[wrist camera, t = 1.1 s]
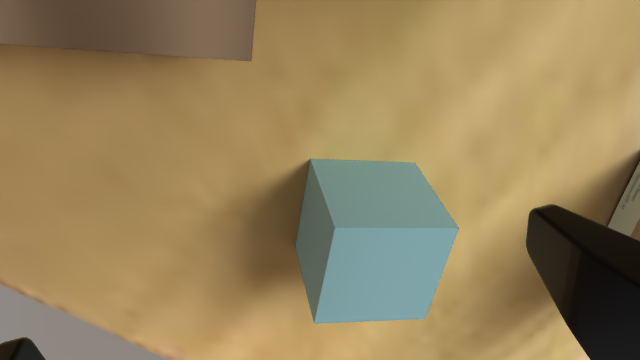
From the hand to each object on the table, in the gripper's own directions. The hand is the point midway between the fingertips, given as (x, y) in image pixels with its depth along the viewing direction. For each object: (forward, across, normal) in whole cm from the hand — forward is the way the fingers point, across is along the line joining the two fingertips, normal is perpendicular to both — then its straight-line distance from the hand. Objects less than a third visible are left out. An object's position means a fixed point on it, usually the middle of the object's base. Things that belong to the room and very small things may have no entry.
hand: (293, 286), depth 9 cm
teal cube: (+13, -4, +9) cm, 16 cm away
